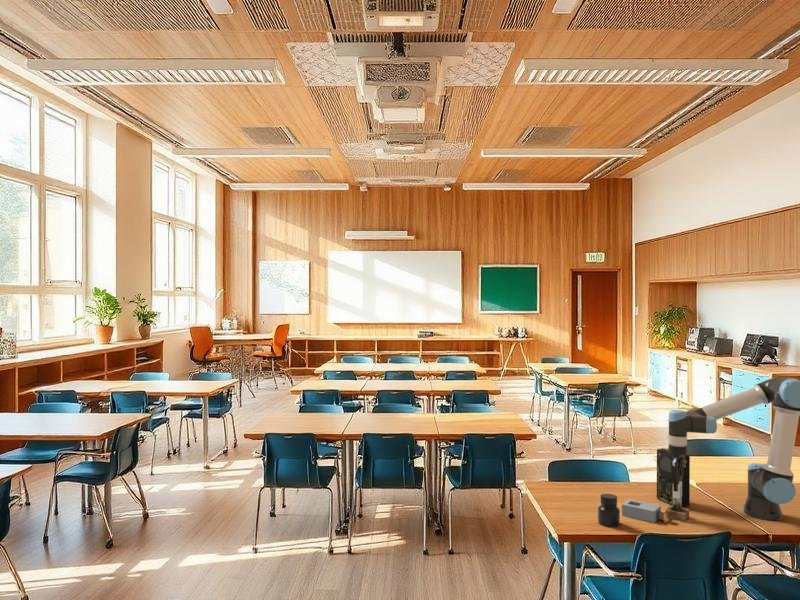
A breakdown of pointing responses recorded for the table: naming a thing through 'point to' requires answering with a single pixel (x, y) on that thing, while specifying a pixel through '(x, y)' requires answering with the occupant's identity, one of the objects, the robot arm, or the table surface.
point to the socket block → (640, 510)
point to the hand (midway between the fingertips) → (677, 496)
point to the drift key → (663, 516)
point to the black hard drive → (665, 478)
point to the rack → (678, 514)
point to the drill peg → (678, 502)
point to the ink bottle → (609, 511)
